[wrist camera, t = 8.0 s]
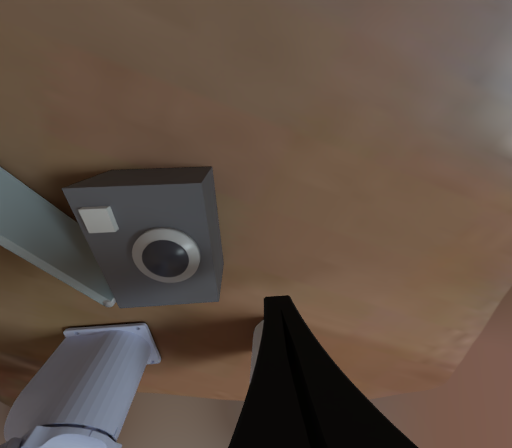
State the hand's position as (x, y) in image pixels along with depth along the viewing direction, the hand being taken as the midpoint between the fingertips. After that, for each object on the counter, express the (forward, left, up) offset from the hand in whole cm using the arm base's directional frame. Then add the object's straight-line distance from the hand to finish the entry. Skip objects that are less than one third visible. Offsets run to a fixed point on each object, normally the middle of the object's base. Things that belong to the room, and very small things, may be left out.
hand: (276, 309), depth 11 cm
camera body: (-8, +1, -9) cm, 12 cm away
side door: (-17, +2, -9) cm, 19 cm away
